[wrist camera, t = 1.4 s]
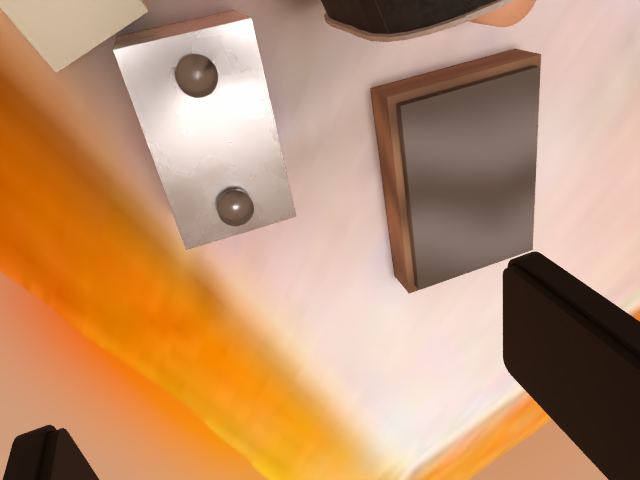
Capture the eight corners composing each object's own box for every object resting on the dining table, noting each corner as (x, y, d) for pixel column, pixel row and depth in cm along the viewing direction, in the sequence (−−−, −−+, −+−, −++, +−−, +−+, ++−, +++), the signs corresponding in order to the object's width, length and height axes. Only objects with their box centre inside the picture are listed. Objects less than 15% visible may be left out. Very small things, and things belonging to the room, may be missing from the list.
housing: (117, 35, 26) (112, 52, 21) (233, 9, 27) (254, 19, 22) (179, 209, 31) (187, 256, 26) (274, 182, 32) (299, 221, 27)
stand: (370, 88, 31) (391, 99, 28) (515, 48, 32) (547, 55, 30) (394, 276, 38) (412, 298, 35) (512, 235, 39) (537, 253, 37)
